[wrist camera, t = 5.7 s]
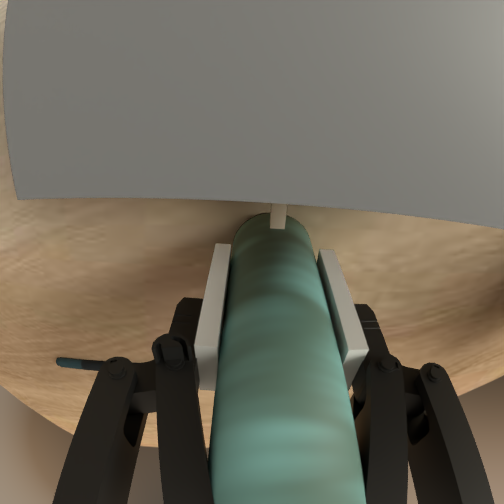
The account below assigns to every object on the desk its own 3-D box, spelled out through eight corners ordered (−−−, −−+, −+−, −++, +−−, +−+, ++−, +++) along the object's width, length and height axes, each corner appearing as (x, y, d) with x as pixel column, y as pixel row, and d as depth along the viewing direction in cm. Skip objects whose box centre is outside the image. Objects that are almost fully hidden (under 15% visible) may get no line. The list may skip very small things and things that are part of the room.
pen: (208, 366, 24) (207, 377, 23) (62, 360, 26) (58, 369, 25) (205, 358, 24) (204, 370, 23) (57, 353, 25) (53, 362, 24)
